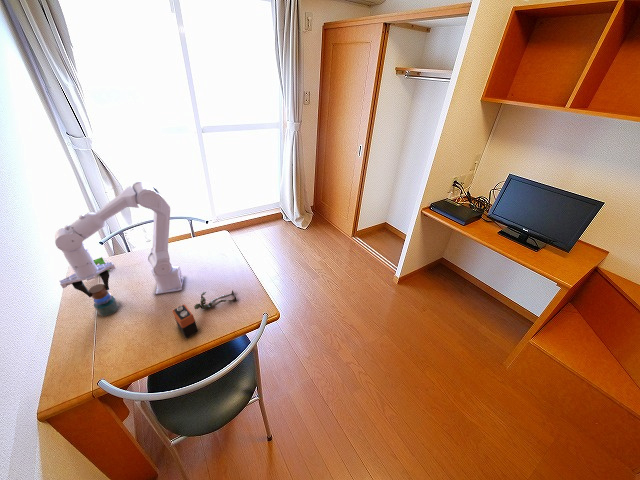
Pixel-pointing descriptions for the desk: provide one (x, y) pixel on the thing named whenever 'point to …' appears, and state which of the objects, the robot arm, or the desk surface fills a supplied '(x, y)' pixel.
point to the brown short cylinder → (98, 291)
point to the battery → (185, 320)
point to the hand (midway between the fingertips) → (98, 291)
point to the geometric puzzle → (100, 262)
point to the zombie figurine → (212, 303)
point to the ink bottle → (106, 305)
